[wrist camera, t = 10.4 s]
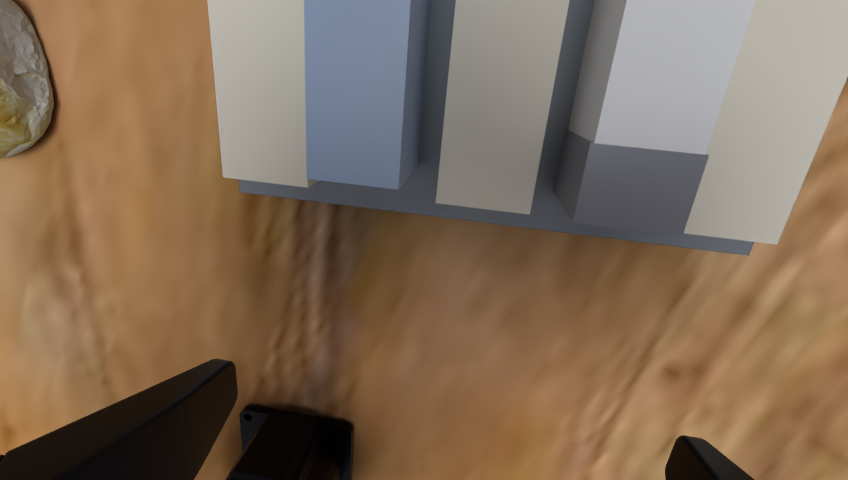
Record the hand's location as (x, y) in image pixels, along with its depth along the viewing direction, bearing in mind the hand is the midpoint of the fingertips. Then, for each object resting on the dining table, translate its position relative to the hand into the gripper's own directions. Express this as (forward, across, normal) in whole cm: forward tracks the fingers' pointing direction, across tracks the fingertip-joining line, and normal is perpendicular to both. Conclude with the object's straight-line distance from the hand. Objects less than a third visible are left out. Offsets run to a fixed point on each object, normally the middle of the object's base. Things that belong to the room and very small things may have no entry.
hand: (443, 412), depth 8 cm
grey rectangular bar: (+10, +4, -8) cm, 13 cm away
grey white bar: (+10, -5, -8) cm, 14 cm away
